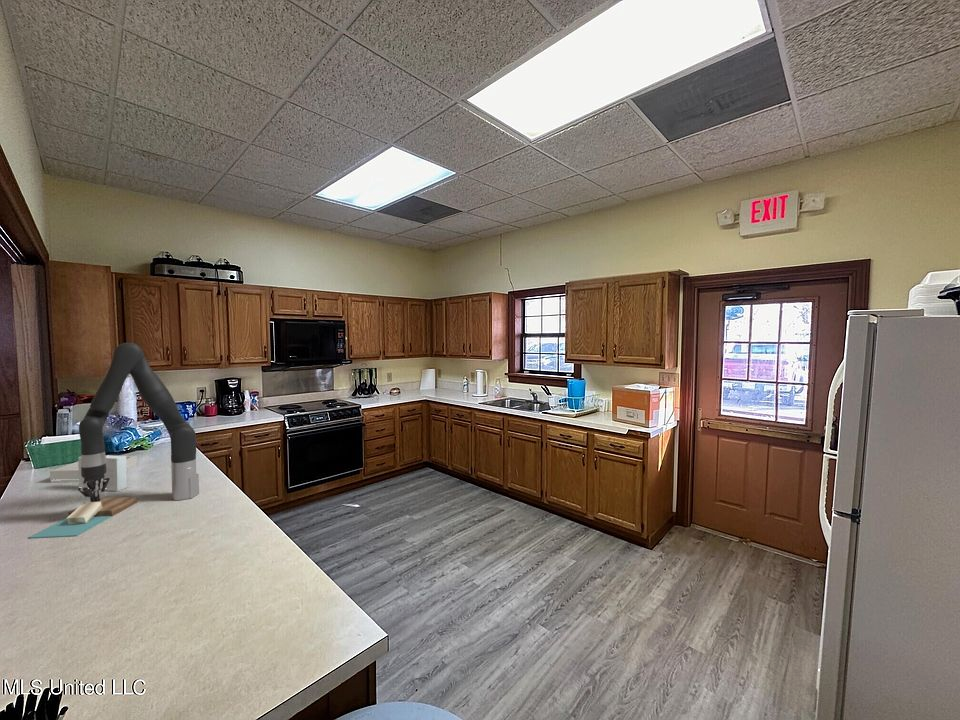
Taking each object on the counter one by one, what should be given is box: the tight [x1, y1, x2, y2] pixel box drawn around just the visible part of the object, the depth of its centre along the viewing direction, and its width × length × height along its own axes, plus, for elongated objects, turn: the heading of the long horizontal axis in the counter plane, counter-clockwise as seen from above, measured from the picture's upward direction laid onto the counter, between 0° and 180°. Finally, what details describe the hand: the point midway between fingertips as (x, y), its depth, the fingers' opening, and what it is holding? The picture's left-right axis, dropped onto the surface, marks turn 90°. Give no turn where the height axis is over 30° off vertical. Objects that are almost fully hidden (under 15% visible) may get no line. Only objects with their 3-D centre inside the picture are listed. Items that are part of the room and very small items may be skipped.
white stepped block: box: [49, 455, 138, 484], centre depth 214 cm, size 24×24×6 cm
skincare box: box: [77, 454, 128, 492], centre depth 194 cm, size 21×5×16 cm, turn 84°
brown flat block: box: [67, 496, 138, 517], centre depth 170 cm, size 16×14×2 cm
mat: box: [27, 516, 112, 539], centre depth 155 cm, size 16×16×1 cm
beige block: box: [65, 501, 103, 524], centre depth 160 cm, size 6×9×3 cm, turn 10°
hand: (95, 504), depth 166 cm, fingers closed
